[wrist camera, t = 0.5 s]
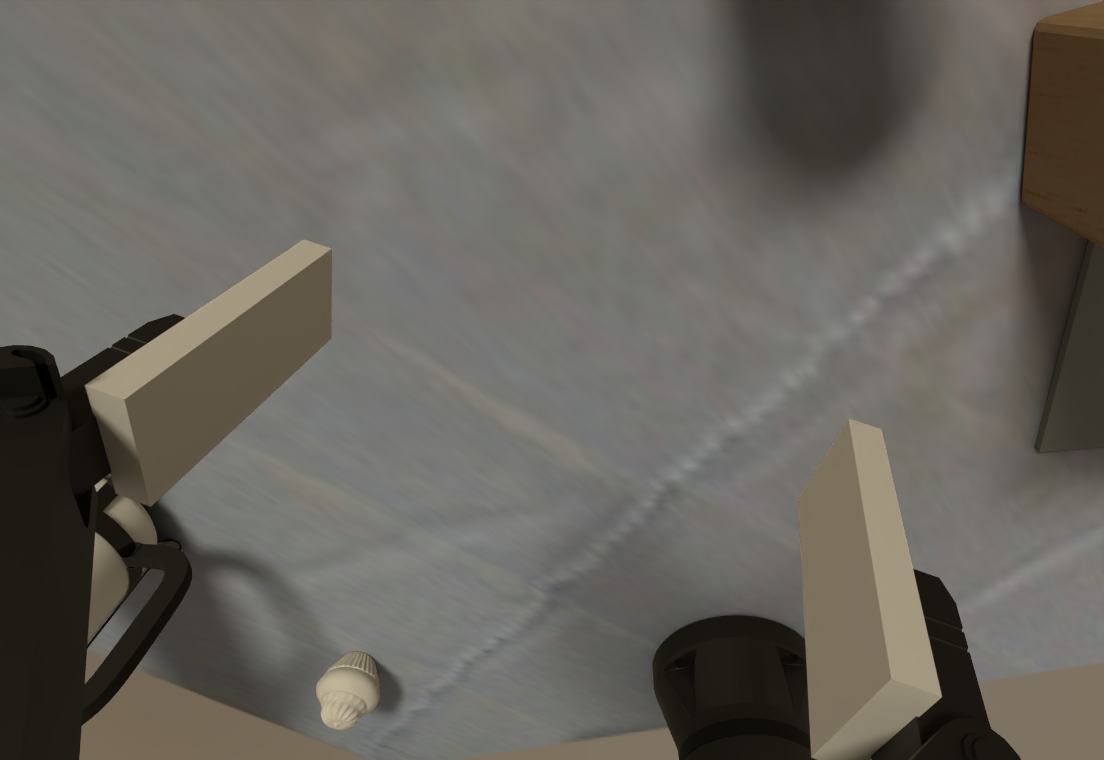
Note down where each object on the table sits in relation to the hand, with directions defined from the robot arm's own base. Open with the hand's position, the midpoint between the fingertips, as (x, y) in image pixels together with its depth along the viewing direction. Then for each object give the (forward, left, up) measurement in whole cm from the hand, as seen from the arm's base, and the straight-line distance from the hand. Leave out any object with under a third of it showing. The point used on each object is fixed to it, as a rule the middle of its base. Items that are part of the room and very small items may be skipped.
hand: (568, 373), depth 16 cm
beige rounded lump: (-47, +30, -27) cm, 62 cm away
